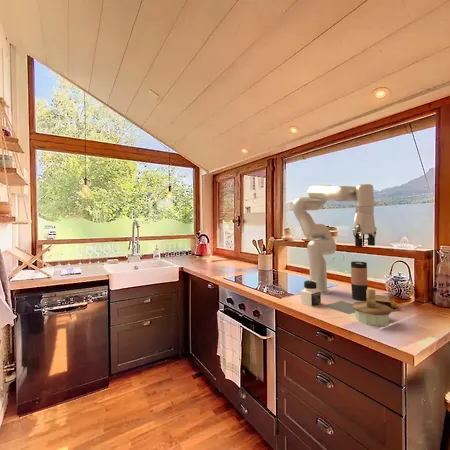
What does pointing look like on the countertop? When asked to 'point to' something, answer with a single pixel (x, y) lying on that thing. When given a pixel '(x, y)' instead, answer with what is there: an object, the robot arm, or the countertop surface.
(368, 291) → the lid
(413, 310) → the countertop surface
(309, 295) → the medicine bottle
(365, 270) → the travel mug
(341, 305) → the mat
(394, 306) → the toy sandwich meal
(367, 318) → the bowl
